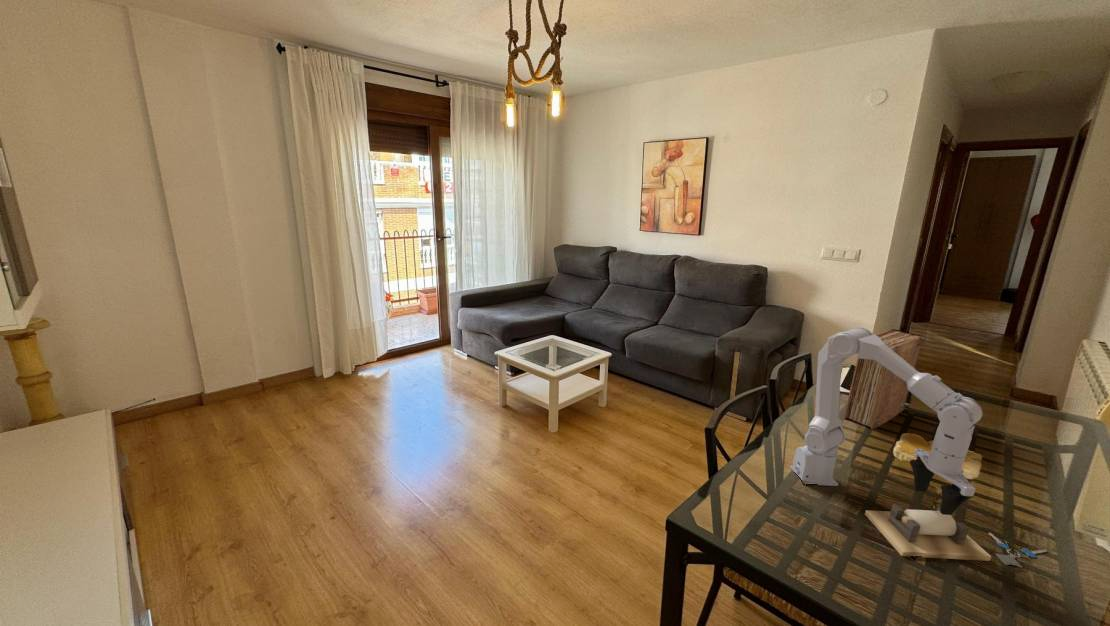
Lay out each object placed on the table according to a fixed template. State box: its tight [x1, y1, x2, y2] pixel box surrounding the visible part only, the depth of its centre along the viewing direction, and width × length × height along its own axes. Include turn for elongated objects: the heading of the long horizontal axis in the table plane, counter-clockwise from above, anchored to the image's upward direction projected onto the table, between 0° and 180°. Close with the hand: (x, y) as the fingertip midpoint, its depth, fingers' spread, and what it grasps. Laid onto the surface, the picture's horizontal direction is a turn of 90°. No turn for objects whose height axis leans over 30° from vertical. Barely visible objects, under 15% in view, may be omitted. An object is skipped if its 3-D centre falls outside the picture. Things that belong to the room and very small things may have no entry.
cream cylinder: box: [901, 508, 957, 536], centre depth 102 cm, size 11×5×5 cm, turn 87°
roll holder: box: [864, 504, 992, 562], centre depth 103 cm, size 19×13×6 cm
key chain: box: [987, 532, 1048, 569], centre depth 101 cm, size 14×8×1 cm, turn 114°
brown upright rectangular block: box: [843, 328, 924, 431], centre depth 156 cm, size 25×9×30 cm, turn 123°
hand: (932, 501), depth 102 cm, fingers open, 7 cm apart
